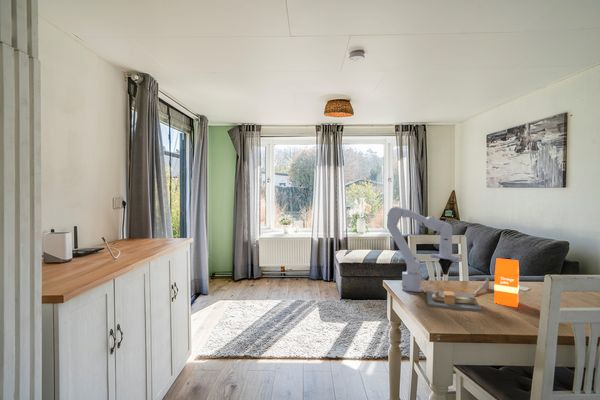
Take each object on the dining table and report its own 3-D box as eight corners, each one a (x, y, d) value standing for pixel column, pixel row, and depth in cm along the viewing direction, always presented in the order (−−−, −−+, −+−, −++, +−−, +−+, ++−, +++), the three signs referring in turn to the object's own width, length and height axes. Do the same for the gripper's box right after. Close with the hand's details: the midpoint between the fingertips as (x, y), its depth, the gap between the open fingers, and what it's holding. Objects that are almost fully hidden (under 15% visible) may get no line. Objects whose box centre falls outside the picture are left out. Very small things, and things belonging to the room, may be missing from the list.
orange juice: (517, 307, 144) (518, 261, 144) (494, 303, 150) (494, 259, 149) (518, 302, 151) (519, 259, 150) (496, 298, 156) (496, 256, 156)
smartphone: (525, 290, 167) (494, 283, 179) (525, 293, 167) (493, 285, 179) (531, 288, 172) (499, 281, 184) (531, 290, 172) (499, 283, 184)
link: (432, 300, 149) (432, 292, 149) (431, 297, 153) (431, 290, 153) (476, 304, 144) (477, 296, 144) (475, 301, 148) (475, 293, 147)
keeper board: (428, 306, 146) (428, 295, 146) (426, 292, 166) (426, 282, 166) (481, 311, 139) (481, 300, 139) (472, 296, 159) (472, 286, 159)
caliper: (486, 288, 173) (487, 276, 173) (489, 289, 172) (489, 277, 172) (471, 296, 160) (471, 284, 159) (473, 297, 159) (474, 284, 159)
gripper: (427, 246, 168) (427, 272, 168) (456, 250, 156) (455, 278, 156) (435, 244, 172) (435, 270, 172) (463, 248, 160) (463, 276, 161)
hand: (445, 274), depth 165 cm, fingers closed
